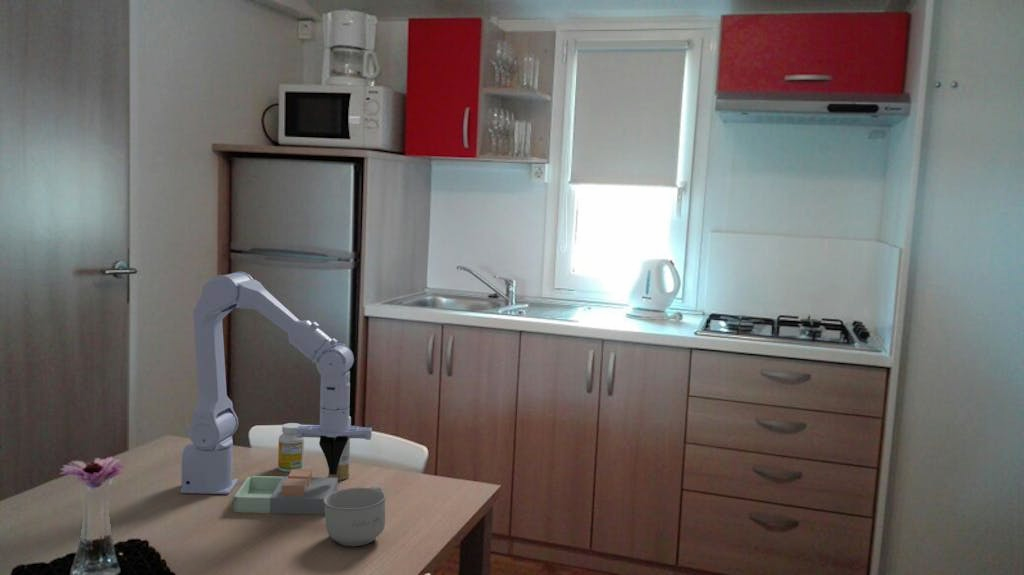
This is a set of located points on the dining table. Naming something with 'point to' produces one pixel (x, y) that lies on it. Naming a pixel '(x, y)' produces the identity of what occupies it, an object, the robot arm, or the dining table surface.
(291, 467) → the supplement bottle
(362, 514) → the teacup
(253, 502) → the tray
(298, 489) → the tile
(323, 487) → the slate board
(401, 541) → the dining table surface
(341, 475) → the sprinkles bottle
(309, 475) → the tile
